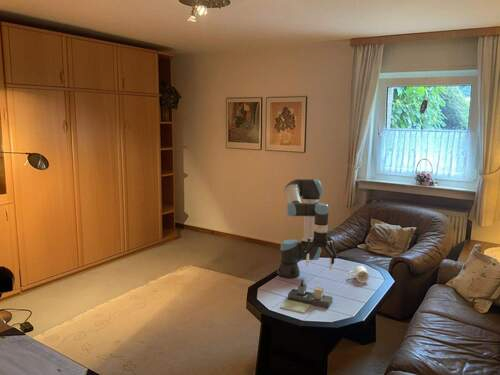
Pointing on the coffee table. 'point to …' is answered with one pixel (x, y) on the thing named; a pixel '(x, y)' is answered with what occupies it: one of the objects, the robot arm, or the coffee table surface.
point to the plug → (318, 293)
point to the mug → (360, 274)
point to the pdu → (308, 297)
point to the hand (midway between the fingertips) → (318, 267)
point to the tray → (295, 306)
